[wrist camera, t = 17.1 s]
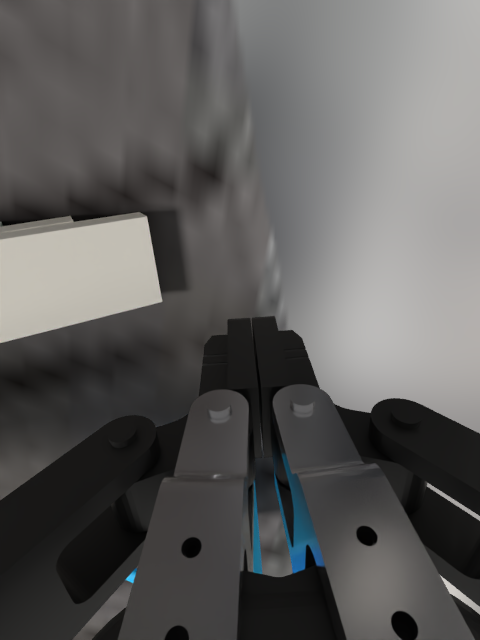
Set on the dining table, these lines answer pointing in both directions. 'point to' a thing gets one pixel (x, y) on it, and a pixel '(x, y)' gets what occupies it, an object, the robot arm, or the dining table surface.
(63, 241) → the domino
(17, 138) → the dining table surface
